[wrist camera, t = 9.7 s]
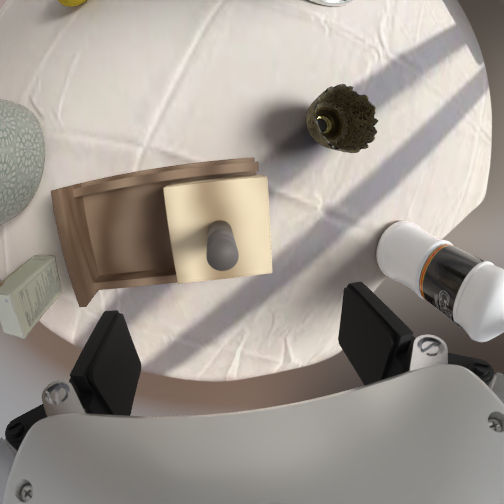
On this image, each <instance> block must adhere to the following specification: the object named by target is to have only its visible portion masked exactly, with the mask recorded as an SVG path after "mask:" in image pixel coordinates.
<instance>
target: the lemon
mask: <svg viewBox="0 0 504 504" xmlns="http://www.w3.org/2000/svg"><path fill="white" fill-rule="evenodd" d="M58 1H59V2H60V3H61V4H62V5H64V6H67V7H74V6H78V5H80V4H82V3H84V2H85V1H87V0H58Z"/></svg>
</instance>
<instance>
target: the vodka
mask: <svg viewBox="0 0 504 504" xmlns="http://www.w3.org/2000/svg"><path fill="white" fill-rule="evenodd" d="M376 257H377V262H378V265H379V268H380V270H381V271H382V272H383V273H384V274H385V275H386V276H387V277H389V278H391V279H393V280H397V281H399V282H401V283H403V284H405V285H406V286H408V287H409V288H411V289H412V290H413V291H414V292H416V293H417V295H418V296H419V297H420V298H422V299H425V300H427V301H428V302H429V303H431V304H432V305H433V306H434V307H436V308H437V309H438V310H439V311H441V312H442V313H443V314H444V315H446V316H447V317H448V318H449V319H451V320H452V321H453V322H455V323H456V324H457V325H458V326H459V327H461V328H462V329H463V330H464V331H465V332H467V333H468V334H469V336H470V337H471V339H473V340H475V341H479V342H485V341H489V340H490V339H492V338H494V337H496V336H498V335H499V334H501V333H503V332H504V269H502V268H499V267H497V266H494V265H493V264H492V263H491V262H488V261H483V260H481V259H479V258H478V257H476V256H474V255H472V254H469V253H467V252H465V251H463V250H461V249H459V248H457V247H455V246H453V245H452V244H451V243H450V242H449V241H446V240H441V239H438V238H436V237H435V236H433V235H431V234H429V233H427V232H426V231H424V230H422V229H421V228H420V227H419V226H418V225H416V224H414V223H412V222H409V221H399V222H396V223H394V224H392V225H391V226H389V227H388V228H387V229H386V230H385V232H384V233H383V234H382V236H381V238H380V240H379V243H378V246H377V253H376Z"/></svg>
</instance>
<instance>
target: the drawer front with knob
mask: <svg viewBox="0 0 504 504" xmlns="http://www.w3.org/2000/svg"><path fill="white" fill-rule="evenodd" d="M163 189H164V198H165V205H166V213H167V220H168V227H169V234H170V240H171V246H172V252H173V258H174V264H175V269H176V275H177V280H178V284H180V283H190V282H199V281H208V280H217V279H226V278H234V277H243V276H251V275H259V274H267V273H272V255H271V235H270V216H269V199H268V183H267V177H265V176H264V175H259V174H252V175H240V176H229V177H219V178H209V179H200V180H192V181H184V182H176V183H171V184H170V185H167V186H166V187H164V188H163Z"/></svg>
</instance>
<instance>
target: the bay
mask: <svg viewBox="0 0 504 504" xmlns="http://www.w3.org/2000/svg"><path fill="white" fill-rule="evenodd" d="M255 171H259V166H258V162H255V158H241V159H229V160H219V161H209V162H200V163H192V164H184V165H176V166H169V167H162V168H156V169H150V170H144V171H138V172H132V173H127V174H122V175H117V176H112V177H107V178H102V179H98V180H93V181H89V182H84V183H80V184H76V185H72V186H68V187H64V188H60V189H56V190H52V191H51V195H52V201H53V207H54V213H55V219H56V224H57V229H58V233H59V238H60V242H61V246H62V251H63V255H64V258H65V262H66V266H67V269H68V273H69V276H70V280H71V283H72V286H73V289H74V292H75V295H76V298H77V301H78V304H79V307H86V306H87V305H88V304H89V302H90V301H91V299H92V298H93V297H94V295H95V294H96V293H97V291H98V290H103V289H114V288H125V287H136V286H147V285H157V284H167V283H177V282H178V280H177V275H176V269H175V264H174V258H173V252H172V246H171V240H170V234H169V227H168V220H167V213H166V205H165V198H164V189H163V188H164V187H166V186H167V185H170V184H171V183H176V182H184V181H192V180H200V179H209V178H219V177H229V176H240V175H252V174H256V172H255Z"/></svg>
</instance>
